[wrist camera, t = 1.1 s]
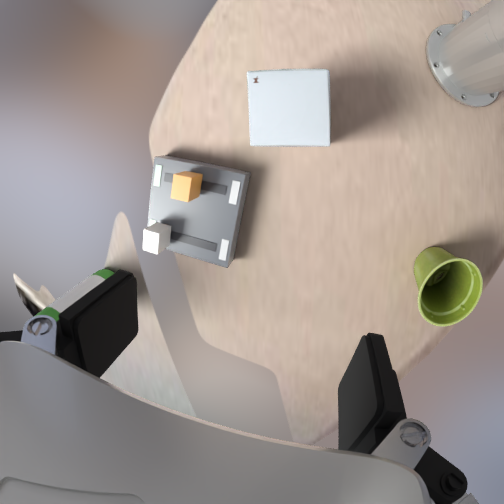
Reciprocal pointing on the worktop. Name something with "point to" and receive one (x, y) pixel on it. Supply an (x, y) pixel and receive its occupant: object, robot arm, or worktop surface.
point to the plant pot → (446, 286)
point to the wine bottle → (75, 294)
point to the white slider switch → (156, 238)
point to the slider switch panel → (200, 209)
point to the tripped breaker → (186, 186)
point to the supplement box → (289, 107)
